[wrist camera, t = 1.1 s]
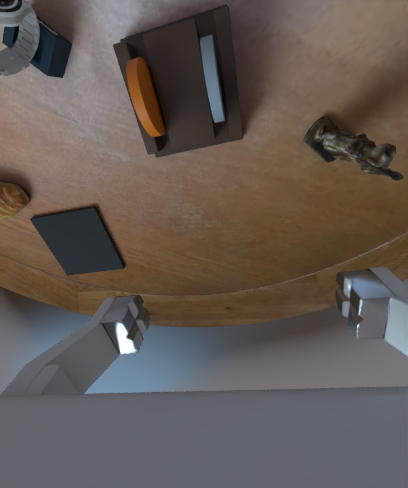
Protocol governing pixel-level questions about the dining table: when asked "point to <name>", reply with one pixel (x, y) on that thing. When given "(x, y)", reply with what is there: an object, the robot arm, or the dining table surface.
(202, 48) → the grey disc
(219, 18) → the rack
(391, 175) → the figurine
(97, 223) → the mat
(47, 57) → the watch
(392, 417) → the robot arm
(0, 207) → the pastry
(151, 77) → the orange disc
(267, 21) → the dining table surface
